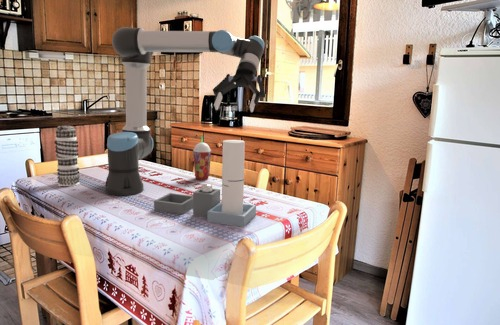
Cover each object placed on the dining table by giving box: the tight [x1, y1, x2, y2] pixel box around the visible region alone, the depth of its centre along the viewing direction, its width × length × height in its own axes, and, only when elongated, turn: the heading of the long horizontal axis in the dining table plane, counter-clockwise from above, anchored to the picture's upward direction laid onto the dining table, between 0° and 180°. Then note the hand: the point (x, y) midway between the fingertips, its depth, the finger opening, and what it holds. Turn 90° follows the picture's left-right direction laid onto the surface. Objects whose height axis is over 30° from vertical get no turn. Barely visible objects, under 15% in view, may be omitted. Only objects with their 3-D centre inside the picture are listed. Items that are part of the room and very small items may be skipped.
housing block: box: [192, 187, 221, 218], centre depth 134 cm, size 7×7×8 cm
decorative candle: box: [53, 125, 81, 187], centre depth 164 cm, size 9×9×25 cm
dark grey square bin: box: [153, 192, 193, 215], centre depth 139 cm, size 11×11×4 cm
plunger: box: [201, 183, 213, 193], centre depth 133 cm, size 4×4×4 cm
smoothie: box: [192, 136, 212, 181], centre depth 181 cm, size 8×8×20 cm
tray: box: [206, 200, 257, 228], centre depth 130 cm, size 13×13×4 cm
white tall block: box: [221, 139, 246, 215], centre depth 127 cm, size 7×7×25 cm
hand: (233, 108), depth 140 cm, fingers open, 13 cm apart
